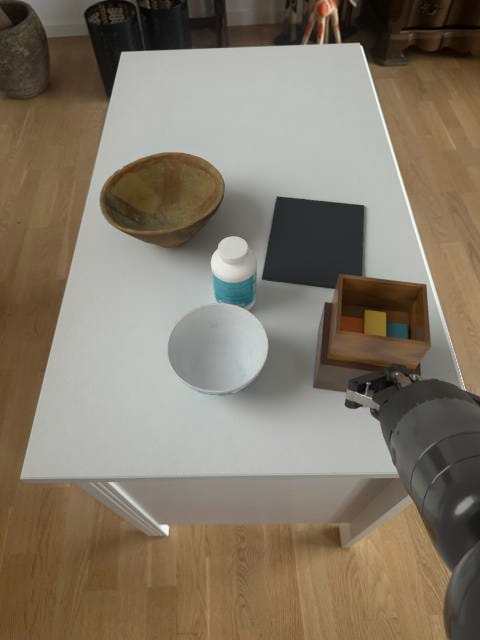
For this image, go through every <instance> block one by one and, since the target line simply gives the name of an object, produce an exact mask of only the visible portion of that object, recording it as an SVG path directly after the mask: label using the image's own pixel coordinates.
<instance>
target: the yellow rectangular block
mask: <svg viewBox="0 0 480 640" xmlns="http://www.w3.org/2000/svg"><path fill="white" fill-rule="evenodd" d="M363 334H371V335H378V336H386V312H379V311H371V310H365V311H364V314H363Z"/></svg>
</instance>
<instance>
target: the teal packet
mask: <svg viewBox="0 0 480 640" xmlns="http://www.w3.org/2000/svg"><path fill="white" fill-rule="evenodd" d="M386 337H393V338H401V339H408V325H407V324H401V323H393V322H386Z"/></svg>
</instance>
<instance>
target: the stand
mask: <svg viewBox="0 0 480 640" xmlns="http://www.w3.org/2000/svg"><path fill="white" fill-rule="evenodd" d="M331 303H332V302H328V301H325V302H324V304H323V309H322V311H321V316H320V320H319V324H318V329H317V339H316V349H315V361H314V362H315V363H314V374H313V384H312V388H314V389H321V390H328V391H333V392H341V393H346V392H347V387H348V381H349V380H350V379H353V378H356V377H359V376H362V375H365V374H368V373H372V372H375V371H383V372H384V371H385V367H383V366H376V365H369V364H362V363H354V362H347V361H340V360H333V359H328V344H329V331H330V317H331ZM421 368H422V367H421V362H420V363H419V364H418V365H417V367H416V368H415V370H414V371H412V372H413V373H414V374H417V375H419V376H421V377H422V370H421Z"/></svg>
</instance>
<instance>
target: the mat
mask: <svg viewBox="0 0 480 640" xmlns="http://www.w3.org/2000/svg"><path fill="white" fill-rule="evenodd" d="M364 220H365V205H364V204H356V203H347V202H338V201H337V202H336V201H328V200H319V199H308V198H299V197H298V198H297V197H289V196H278V195H277V196H276V200H275V204H274V210H273V215H272V221H271V225H270V231H269V237H268V242H267V248H266V253H265V259H264V264H263V270H262V275H261V280H263V281H269V282H277V283H285V284H286V283H287V284H293V285H294V284H295V285H302V286H310V287H317V288H325V289H326V288H327V289H334V290H335V288H336V284H337V280H338V276H339V274H344V275H353V276H361V277H363V261H364V260H363V259H364V257H363V256H364V227H365V225H364V223H365V221H364Z"/></svg>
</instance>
